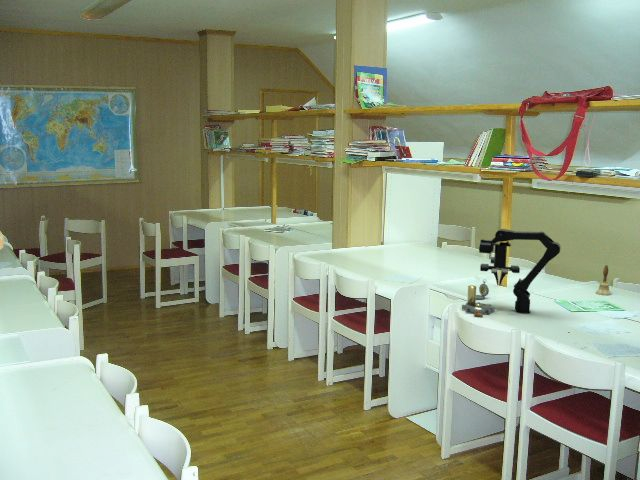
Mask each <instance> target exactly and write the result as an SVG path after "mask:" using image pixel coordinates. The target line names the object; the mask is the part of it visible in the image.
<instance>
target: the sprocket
mask: <svg viewBox="0 0 640 480" xmlns="http://www.w3.org/2000/svg"><path fill="white" fill-rule="evenodd" d="M476 295H477V285H470V284H469V285H468V286H467V299H466V300H467V302H466V303H465V304H461V310H464V311H465V313H472V314H477V313H480V314H483V315H484V314H485V315H491V313H492V312H493V313H495V312H496V307H495V306H492V304H490V303H487V304H486V303H483V302H482V303H481V302H479V301H478V302H477V301H476V300H477V299H476Z"/></svg>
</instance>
